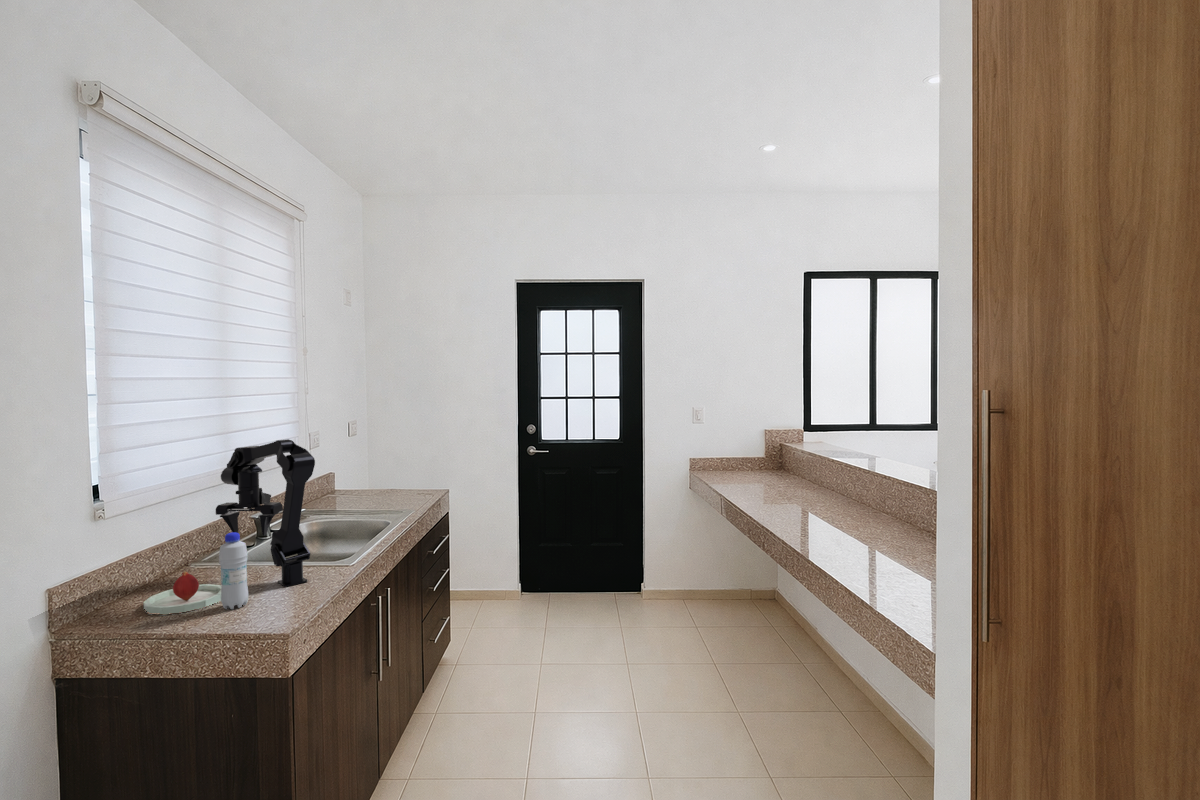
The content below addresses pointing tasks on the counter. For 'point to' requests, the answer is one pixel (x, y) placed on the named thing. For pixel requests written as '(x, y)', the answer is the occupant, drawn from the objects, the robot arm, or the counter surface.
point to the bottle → (233, 571)
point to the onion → (185, 586)
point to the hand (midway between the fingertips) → (250, 535)
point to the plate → (173, 604)
